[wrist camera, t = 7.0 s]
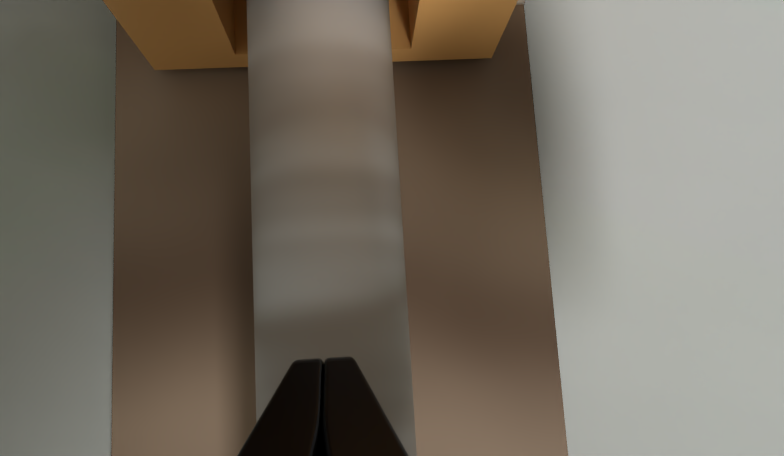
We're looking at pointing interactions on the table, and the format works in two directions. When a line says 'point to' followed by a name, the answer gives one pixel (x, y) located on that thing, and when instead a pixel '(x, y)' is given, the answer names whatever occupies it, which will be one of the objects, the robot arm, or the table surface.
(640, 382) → the table surface
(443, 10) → the orange tan block
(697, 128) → the table surface
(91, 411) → the table surface
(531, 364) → the pipe board
